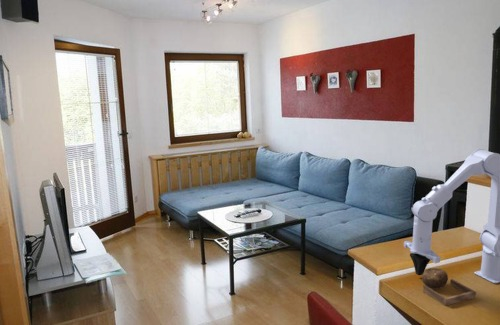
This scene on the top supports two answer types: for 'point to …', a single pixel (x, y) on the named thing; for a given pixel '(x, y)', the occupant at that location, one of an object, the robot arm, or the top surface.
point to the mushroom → (435, 278)
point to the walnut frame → (466, 295)
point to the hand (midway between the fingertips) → (419, 274)
